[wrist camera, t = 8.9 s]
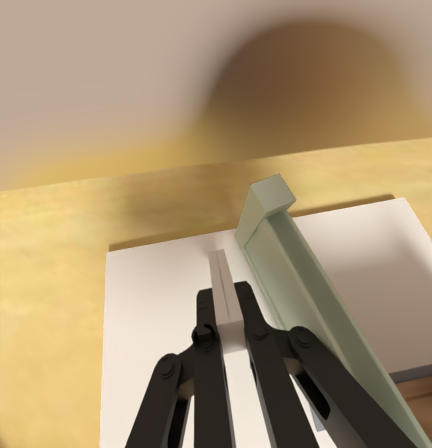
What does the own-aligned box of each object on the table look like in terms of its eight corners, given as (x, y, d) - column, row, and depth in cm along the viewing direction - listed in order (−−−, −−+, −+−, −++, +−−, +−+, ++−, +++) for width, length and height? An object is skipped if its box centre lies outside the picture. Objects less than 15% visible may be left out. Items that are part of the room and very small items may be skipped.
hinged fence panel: (327, 386, 13) (593, 653, 4) (310, 396, 13) (544, 700, 4) (247, 230, 18) (279, 173, 8) (234, 236, 17) (250, 184, 8)
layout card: (396, 199, 20) (404, 195, 19) (575, 494, 12) (603, 511, 11) (110, 252, 18) (105, 251, 18) (101, 615, 11) (91, 645, 10)
